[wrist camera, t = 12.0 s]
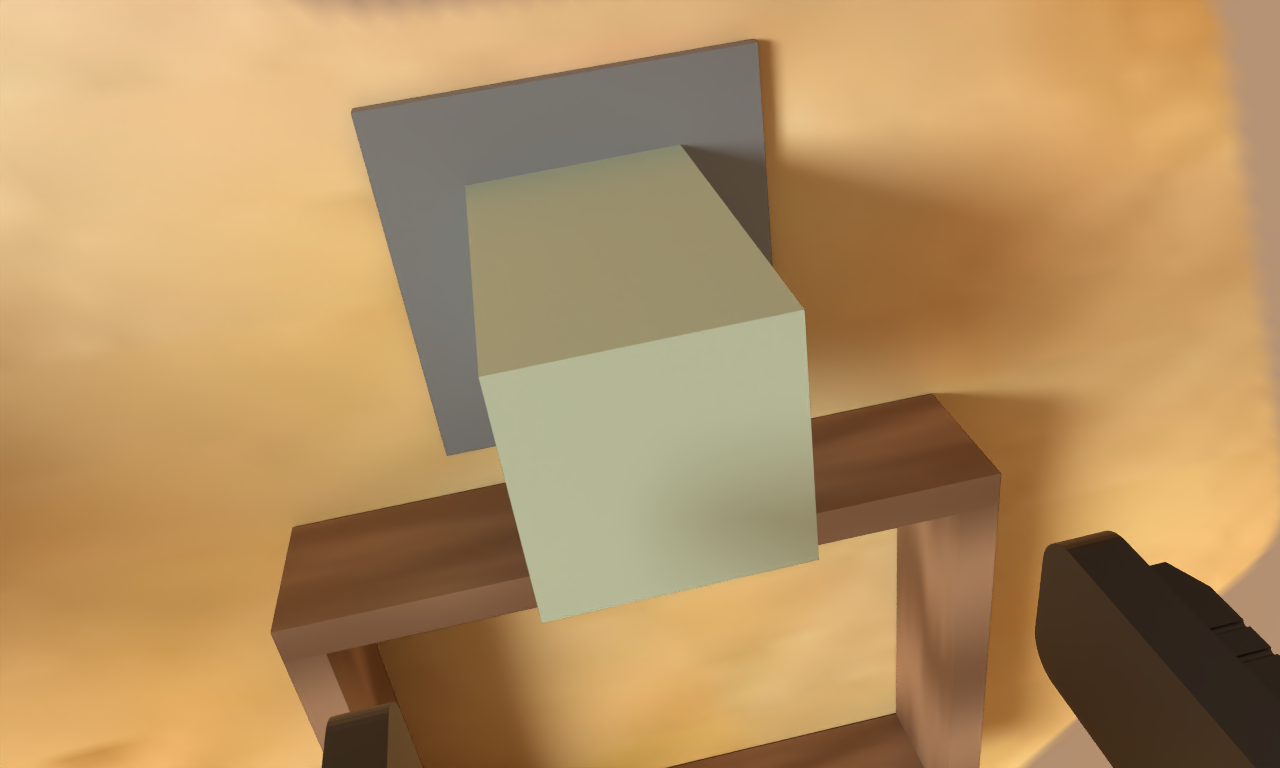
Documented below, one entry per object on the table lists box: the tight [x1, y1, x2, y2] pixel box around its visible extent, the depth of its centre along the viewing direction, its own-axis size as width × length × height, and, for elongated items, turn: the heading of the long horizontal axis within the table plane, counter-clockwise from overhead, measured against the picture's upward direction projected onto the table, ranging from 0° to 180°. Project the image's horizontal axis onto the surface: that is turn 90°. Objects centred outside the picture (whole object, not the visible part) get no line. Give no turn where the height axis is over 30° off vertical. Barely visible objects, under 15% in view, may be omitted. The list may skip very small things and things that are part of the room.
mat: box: [351, 39, 772, 456], centre depth 24 cm, size 9×9×1 cm
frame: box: [271, 394, 1001, 768], centre depth 29 cm, size 14×18×4 cm
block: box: [465, 145, 819, 623], centre depth 20 cm, size 5×5×9 cm
